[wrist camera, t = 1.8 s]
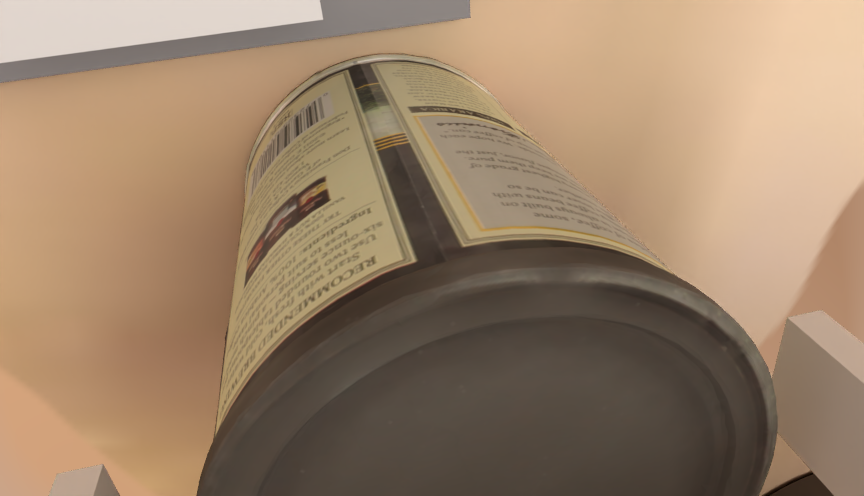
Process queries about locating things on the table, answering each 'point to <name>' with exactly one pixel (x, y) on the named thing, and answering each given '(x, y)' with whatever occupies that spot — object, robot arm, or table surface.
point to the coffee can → (462, 316)
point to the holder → (184, 28)
